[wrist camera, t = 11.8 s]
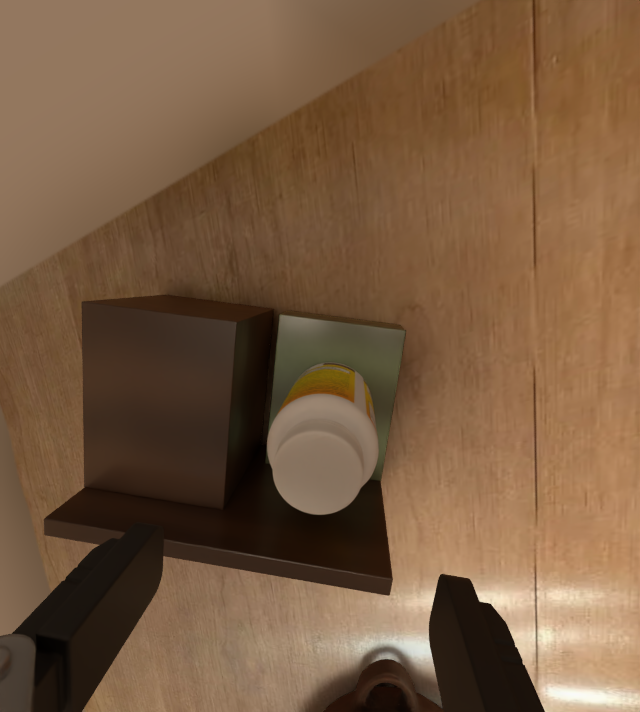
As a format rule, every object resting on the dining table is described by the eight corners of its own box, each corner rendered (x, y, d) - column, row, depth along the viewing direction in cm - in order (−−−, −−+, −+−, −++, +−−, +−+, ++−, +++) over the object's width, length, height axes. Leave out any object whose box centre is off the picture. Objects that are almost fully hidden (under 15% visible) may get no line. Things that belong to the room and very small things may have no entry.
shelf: (164, 294, 29) (34, 305, 17) (401, 324, 28) (434, 358, 16) (160, 439, 31) (43, 535, 20) (376, 473, 30) (389, 596, 18)
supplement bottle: (275, 394, 26) (227, 465, 16) (335, 343, 25) (322, 386, 15) (327, 452, 27) (311, 554, 17) (388, 404, 26) (410, 484, 16)
